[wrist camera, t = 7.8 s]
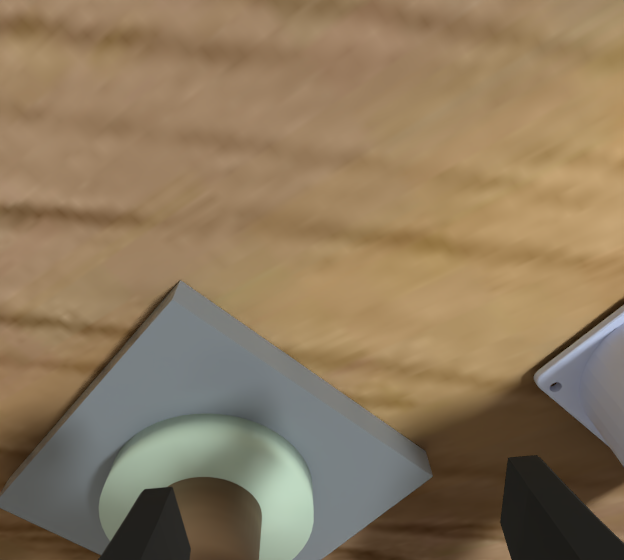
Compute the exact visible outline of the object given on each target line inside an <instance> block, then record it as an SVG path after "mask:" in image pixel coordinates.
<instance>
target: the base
mask: <svg viewBox="0 0 624 560" xmlns="http://www.w3.org/2000/svg"><path fill="white" fill-rule="evenodd" d="M193 477H213V478H220V479H224V480H227V481H231V482H233V483H235V484H238V485H239V486H241V487H243V488H244V489H246V490H247V491H249V492H250V493H251V494H252V495H253V496H254V497H255V499H256V500H257V502H258V503H259V505H260V508H261V512H262V525H261V539H260V553H259V560H321V559H323V558H324V557H325V556H327V555H328V554H329V553H331V552H332V551H333V550H335V549H336V548H337V547H339V546H340V545H341V544H343V543H344V542H346V541H347V540H348V539H350V538H351V537H352V536H354V535H355V534H356V533H358V532H359V531H360V530H362V529H363V528H364V527H366V526H367V525H368V524H370V523H371V522H372V521H374V520H375V519H376V518H378V517H379V516H380V515H382V514H383V513H385V512H386V511H387V510H389V509H390V508H391V507H393V506H394V505H395V504H397V503H398V502H399V501H401V500H402V499H403V498H405V497H406V496H407V495H409V494H410V493H411V492H413V491H414V490H415V489H417V488H418V487H419V486H421V485H422V484H424V483H425V482H426V481H428V480H429V479H430V478H432V477H433V475H432V471H431V468H430V465H429V461H428V458H427V454H426V451H424V450H423V449H422V448H420V447H419V446H417V445H416V444H414V443H413V442H412V441H410V440H409V439H407V438H406V437H404V436H403V435H401V434H400V433H399V432H397V431H396V430H394V429H393V428H391V427H390V426H389V425H387V424H386V423H384V422H383V421H381V420H380V419H379V418H377V417H376V416H374V415H373V414H371V413H370V412H369V411H367V410H366V409H364V408H363V407H361V406H360V405H359V404H357V403H356V402H354V401H353V400H351V399H350V398H348V397H347V396H346V395H344V394H343V393H341V392H340V391H338V390H337V389H336V388H334V387H333V386H331V385H330V384H328V383H327V382H326V381H324V380H323V379H321V378H320V377H318V376H317V375H316V374H314V373H313V372H311V371H310V370H308V369H307V368H306V367H304V366H303V365H301V364H300V363H298V362H297V361H295V360H294V359H293V358H291V357H290V356H288V355H287V354H285V353H284V352H283V351H281V350H280V349H278V348H277V347H275V346H274V345H273V344H271V343H270V342H268V341H267V340H265V339H264V338H263V337H261V336H260V335H258V334H257V333H255V332H254V331H253V330H251V329H250V328H248V327H247V326H245V325H244V324H242V323H241V322H240V321H238V320H237V319H235V318H234V317H232V316H231V315H230V314H228V313H227V312H225V311H224V310H222V309H221V308H220V307H218V306H217V305H215V304H214V303H212V302H211V301H210V300H208V299H207V298H205V297H204V296H202V295H201V294H200V293H198V292H197V291H195V290H194V289H192V288H191V287H189V286H188V285H187V284H185V283H184V282H182V281H181V280H180V281H179V282H178V283H177V285H176V286H175V287H174V288H173V289H172V290H171V292H170V293H169V294H168V295H167V296H166V297H165V298H164V300H163V301H162V302H161V303H160V304H159V305H158V307H157V308H156V309H155V310H154V311H153V312H152V314H151V315H150V316H149V317H148V318H147V319H146V320H145V322H144V323H143V324H142V325H141V326H140V327H139V329H138V330H137V331H136V332H135V333H134V334H133V336H132V337H131V338H130V339H129V340H128V341H127V342H126V344H125V345H124V346H123V347H122V348H121V349H120V351H119V352H118V353H117V354H116V355H115V356H114V358H113V359H112V360H111V361H110V362H109V363H108V364H107V366H106V367H105V368H104V369H103V370H102V371H101V373H100V374H99V375H98V376H97V377H96V378H95V380H94V381H93V382H92V383H91V384H90V385H89V386H88V388H87V389H86V390H85V391H84V392H83V393H82V395H81V396H80V397H79V398H78V399H77V400H76V402H75V403H74V404H73V405H72V406H71V407H70V408H69V410H68V411H67V412H66V413H65V414H64V415H63V417H62V418H61V419H60V420H59V421H58V422H57V424H56V425H55V426H54V427H53V428H52V429H51V430H50V432H49V433H48V434H47V435H46V436H45V437H44V439H43V440H42V441H41V442H40V443H39V444H38V446H37V447H36V448H35V449H34V450H33V451H32V452H31V454H30V455H29V456H28V457H27V458H26V459H25V461H24V462H23V463H22V464H21V465H20V466H19V468H18V469H17V470H16V471H15V472H14V473H13V474H12V476H11V477H10V478H9V479H8V481H7V483H6V484H5V486H4V488H3V489H2V491H1V493H0V508H1V509H3V510H5V511H8V512H10V513H12V514H14V515H16V516H18V517H20V518H22V519H25V520H27V521H29V522H31V523H33V524H35V525H37V526H40V527H42V528H44V529H46V530H48V531H50V532H52V533H55V534H57V535H59V536H61V537H63V538H65V539H67V540H70V541H72V542H74V543H76V544H78V545H80V546H82V547H85V548H87V549H89V550H91V551H93V552H95V553H97V554H100V555H102V553H103V552H104V550H105V549H106V547H107V546H108V544H109V543H110V541H111V540H112V538H113V536H114V535H115V533H116V532H117V530H118V529H119V527H120V525H121V524H122V522H123V521H124V519H125V518H126V516H127V514H128V513H129V511H130V509H131V508H132V506H133V505H134V503H135V501H136V500H137V498H138V497H139V495H140V493H141V492H142V491H143V490H144V489H151V488H163V487H168V486H169V485H171V484H173V483H175V482H178V481H180V480H184V479H188V478H193Z"/></svg>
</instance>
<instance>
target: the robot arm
mask: <svg viewBox="0 0 624 560" xmlns="http://www.w3.org/2000/svg"><path fill="white" fill-rule="evenodd" d="M534 381H535V383H536V384H537V386H538V387H539V388H540V389H541V390H542V391H544V392H545V393H546V394H547V395H548V396H549V397H551V398H552V399H553V400H554V401H555V402H557V403H558V404H559V405H560V406H561V407H563V408H564V409H565V410H566V411H567V412H568V413H570V414H571V415H572V416H573V417H574V418H576V419H577V420H578V421H579V422H580V423H582V424H583V425H584V426H585V427H586V428H587V429H589V430H590V431H591V432H592V433H593V434H595V435H596V436H597V437H598V438H599V439H601V440H602V441H603V442H604V443H605V444H606V445H608V446H609V447H610V448H611V450H612V451H613V452H614V454H615V455H616V457H617V458H618V460H619V461H620V462H621V464H622V465H623V467H624V305H623V306H621V307H620V308H619V309H617V310H616V311H615V312H614V313H612V314H611V315H610V316H608V317H607V318H606V319H604V320H603V321H602V322H600V323H599V324H598V325H597V326H595V327H594V328H593V329H591V330H590V331H589V332H587V333H586V334H585V335H583V336H582V337H581V338H580V339H578V340H577V341H576V342H574V343H573V344H572V345H570V346H569V347H568V348H566V349H565V350H564V351H563V352H561V353H560V354H559V355H557V356H556V357H555V358H553V359H552V360H551V361H549V362H548V363H547V364H546V365H544V366H543V367H542V368H540V369H539V370H538V371H537V372H536V373H535V375H534ZM556 382H557V383H556ZM553 383H556V385H554V386H551V385H552V384H553ZM500 523H501V526H502V530H503V533H504V536H505V540H506V543H507V546H508V550H509V553H510V556H511V559H512V560H624V543H623V542H622V541H621V540H620V539H619V538H618V537H617V536H616V535H615V534H614V533H613V532H612V531H611V530H610V529H609V528H608V527H607V526H606V525H605V524H603V523H602V522H601V521H600V520H599V519H598V518H597V517H596V516H595V515H594V514H593V513H592V512H591V510H590V509H589V508H588V507H587V506H586V505H585V504H584V503H583V502H582V501H581V500H580V499H579V498H578V497H577V496H576V495H575V494H574V493H573V492H572V491H571V490H570V489H569V488H568V487H567V486H566V485H565V484H564V483H563V481H562V480H561V479H560V478H559V477H558V476H557V475H556V474H555V473H554V472H553V471H552V470H551V469H550V468H549V467H548V466H547V464H546V463H545V462H544V461H543V460H542V459H541V458H540V457H538V456H537V455H534V456H522V457H510V458H508V463H507V471H506V479H505V488H504V496H503V504H502V512H501V521H500ZM190 552H191V547H190V544H189V540H188V537H187V534H186V530H185V527H184V524H183V520H182V517H181V513H180V510H179V507H178V503H177V500H176V497H175V493H174V490H173V487H163V488H151V489H144V490H143V491H142V492H141V493H140V495H139V497H138V498H137V500H136V501H135V503H134V505H133V506H132V508H131V509H130V511H129V513H128V514H127V516H126V518H125V519H124V521H123V522H122V524H121V525H120V527H119V529H118V530H117V532H116V533H115V535H114V536H113V538H112V540H111V541H110V543H109V544H108V546H107V547H106V549H105V550H104V552H103V553H102V555H101V556H100V558H99V559H98V560H190Z"/></svg>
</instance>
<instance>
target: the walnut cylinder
mask: <svg viewBox="0 0 624 560" xmlns="http://www.w3.org/2000/svg"><path fill="white" fill-rule="evenodd" d="M168 487H173V490H174V493H175V497H176V500H177V503H178V507H179V510H180V513H181V517H182V520H183V524H184V527H185V530H186V534H187V537H188V540H189V544H190V547H191V552H190V560H259V553H260V539H261V525H262V512H261V508H260V505H259V503H258V502H257V500H256V499H255V497H254V496H253V495H252V494H251V493H250V492H249V491H247V490H246V489H244V488H243V487H241V486H239V485H238V484H235V483H233V482H231V481H227V480H224V479H220V478H213V477H193V478H188V479H184V480H180V481H178V482H175V483H173V484H171V485H169V486H168Z"/></svg>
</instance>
